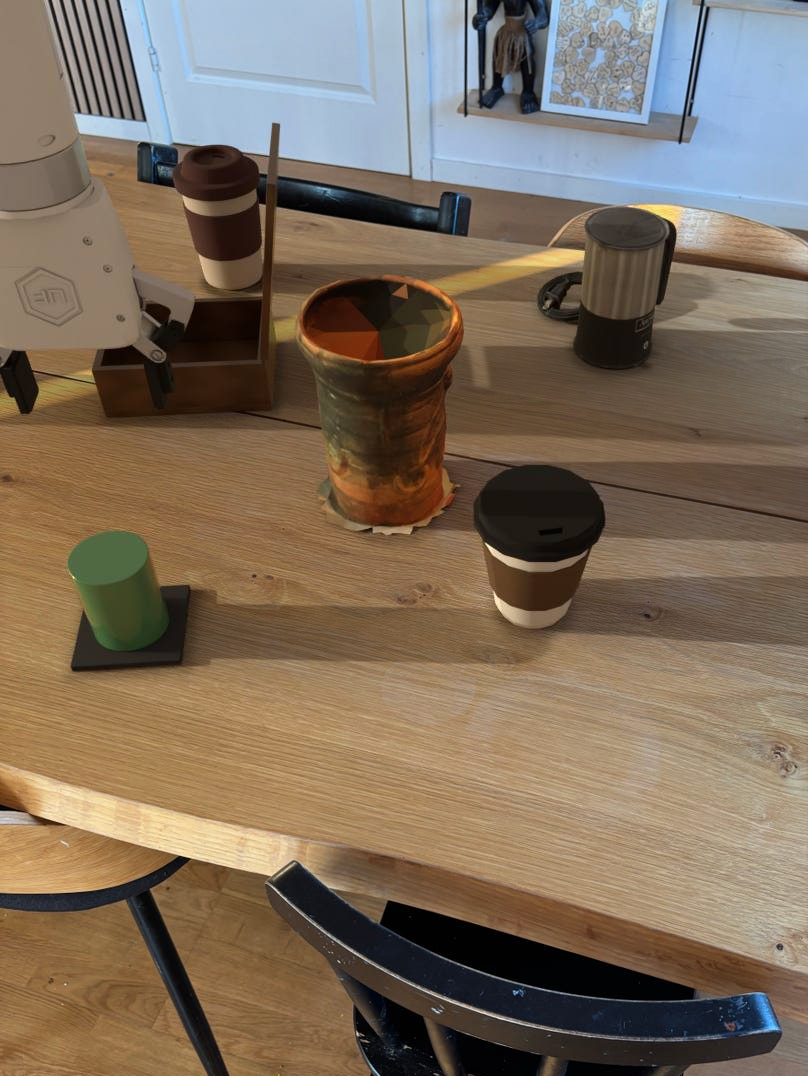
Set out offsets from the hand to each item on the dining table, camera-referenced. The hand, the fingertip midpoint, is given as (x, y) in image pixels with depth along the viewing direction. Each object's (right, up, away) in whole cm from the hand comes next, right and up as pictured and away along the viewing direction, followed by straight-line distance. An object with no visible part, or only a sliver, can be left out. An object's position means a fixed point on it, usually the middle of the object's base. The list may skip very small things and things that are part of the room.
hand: (97, 401), depth 76 cm
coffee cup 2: (+33, -15, +16) cm, 40 cm away
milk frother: (+42, +19, +46) cm, 65 cm away
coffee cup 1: (-3, +28, +53) cm, 60 cm away
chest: (-3, +12, +38) cm, 40 cm away
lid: (+7, +22, +27) cm, 36 cm away
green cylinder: (-2, -16, +12) cm, 21 cm away
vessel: (+20, -4, +25) cm, 32 cm away
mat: (-2, -17, +13) cm, 21 cm away
